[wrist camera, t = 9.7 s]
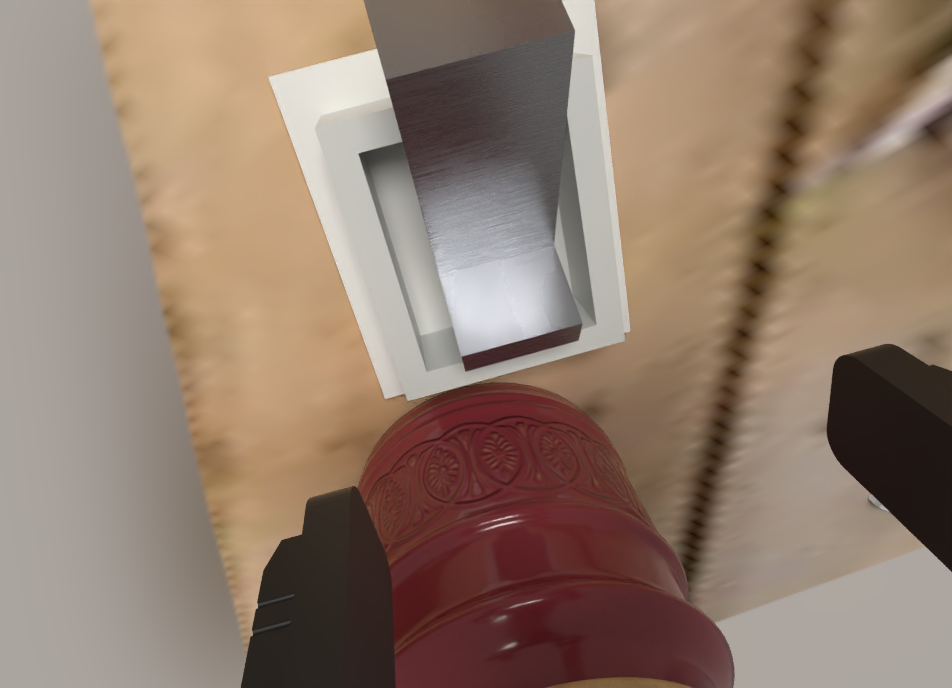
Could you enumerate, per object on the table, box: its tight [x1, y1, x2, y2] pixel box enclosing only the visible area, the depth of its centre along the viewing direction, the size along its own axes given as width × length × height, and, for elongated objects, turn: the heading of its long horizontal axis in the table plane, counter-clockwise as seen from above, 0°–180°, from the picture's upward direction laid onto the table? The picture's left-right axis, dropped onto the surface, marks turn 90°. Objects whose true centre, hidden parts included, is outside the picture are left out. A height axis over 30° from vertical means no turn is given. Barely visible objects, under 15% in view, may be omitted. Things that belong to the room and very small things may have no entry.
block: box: [364, 0, 583, 372], centre depth 17 cm, size 6×4×10 cm
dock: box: [269, 0, 630, 401], centre depth 22 cm, size 13×11×4 cm
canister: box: [357, 383, 734, 688], centre depth 22 cm, size 13×13×18 cm
